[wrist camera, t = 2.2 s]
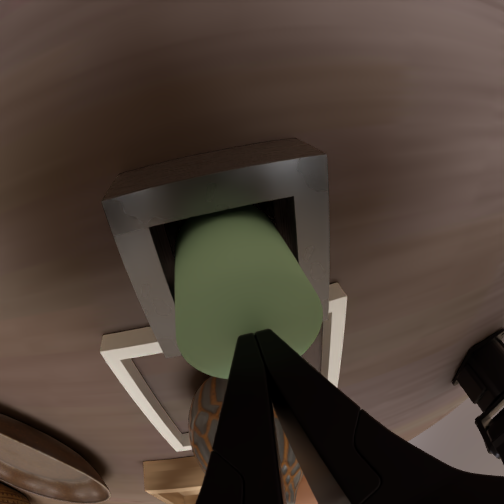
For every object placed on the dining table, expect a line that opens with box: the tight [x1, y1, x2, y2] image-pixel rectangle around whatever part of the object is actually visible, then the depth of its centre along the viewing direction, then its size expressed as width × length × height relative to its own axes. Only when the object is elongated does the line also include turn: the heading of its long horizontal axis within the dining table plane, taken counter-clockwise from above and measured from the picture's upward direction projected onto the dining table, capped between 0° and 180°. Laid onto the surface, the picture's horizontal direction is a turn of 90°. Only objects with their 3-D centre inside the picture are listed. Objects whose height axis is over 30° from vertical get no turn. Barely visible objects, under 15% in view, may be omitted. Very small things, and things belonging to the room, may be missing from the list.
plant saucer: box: [0, 414, 111, 504], centre depth 19 cm, size 21×21×3 cm
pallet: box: [143, 456, 205, 504], centre depth 25 cm, size 20×11×3 cm, turn 97°
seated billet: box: [295, 475, 318, 504], centre depth 23 cm, size 7×7×9 cm
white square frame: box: [100, 283, 347, 452], centre depth 18 cm, size 13×13×1 cm
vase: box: [188, 376, 304, 504], centre depth 15 cm, size 7×7×9 cm
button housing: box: [101, 138, 330, 358], centre depth 12 cm, size 7×7×3 cm
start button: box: [175, 205, 323, 379], centre depth 10 cm, size 4×4×4 cm
